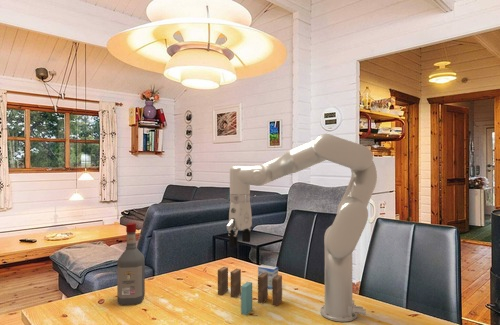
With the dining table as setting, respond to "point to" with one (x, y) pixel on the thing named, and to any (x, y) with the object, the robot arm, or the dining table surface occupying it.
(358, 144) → the robot arm
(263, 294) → the domino
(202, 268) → the dining table surface
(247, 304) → the domino
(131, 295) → the liquor
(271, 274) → the medicine box
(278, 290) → the domino
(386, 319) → the dining table surface
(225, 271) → the domino
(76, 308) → the dining table surface
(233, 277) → the domino
